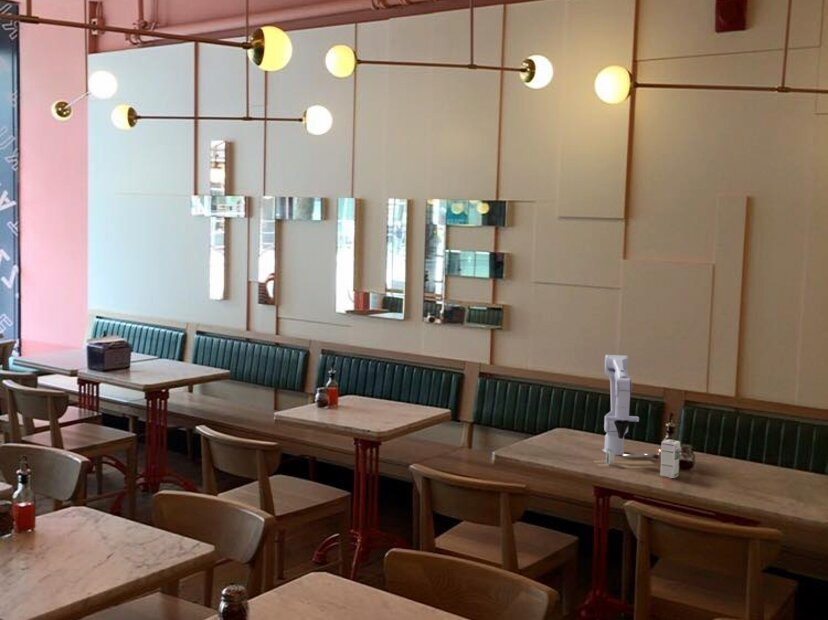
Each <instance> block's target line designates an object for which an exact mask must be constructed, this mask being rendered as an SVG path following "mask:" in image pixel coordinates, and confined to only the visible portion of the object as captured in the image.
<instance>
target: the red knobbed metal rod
mask: <svg viewBox="0 0 828 620" xmlns="http://www.w3.org/2000/svg"><path fill="white" fill-rule="evenodd" d="M621 457H622V459H643V460H650V459H655V460H656V462H657V464H661V448H658V449H656V451H655V453H643V454H626V455H621Z"/></svg>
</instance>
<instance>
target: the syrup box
mask: <svg viewBox="0 0 828 620" xmlns="http://www.w3.org/2000/svg"><path fill="white" fill-rule="evenodd" d="M660 449H661V463H660V467H659V470H660V473H659V475H660V476H661V477H665V478H666V477H668V478H667V479H671V478H674V479H675V478H677V477H679V476H680V460H681V459H680V456H681V455H680V454H681V441H680V440H675V439H666V440H663V441H661V447H660Z"/></svg>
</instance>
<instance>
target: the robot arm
mask: <svg viewBox="0 0 828 620" xmlns="http://www.w3.org/2000/svg"><path fill="white" fill-rule="evenodd" d="M628 367H629V356H628V355H627V354H626V355H620V354H619V355H618V354H617V355H615V354H606V355H605V356H604V374H605V375H606V376H607V377H609V378H608V379H609V383H610V384H609V385H610V387H609V389H610V390H609V391H610V411H609V412H608V413H606V414H605V415H604V420H603V421H604V424H603V427H604V432H605V433H606V434H605V435H604V444H603V445H604V446H603V447H604V448H603V449H601V451H602V452H603V453H606V449H611V450H613V451H614V456H622V455H627V453H625V452H624V442H625V435H626V434H627V433H629V426H630V422H636V423H637V422H638V423H639V421H640V417H639V416H635V415H630V404H631V403H630V401H631V392H632V391H633V390H632V389H633V381H632V378H631V377H629V373H628Z"/></svg>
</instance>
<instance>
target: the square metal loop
mask: <svg viewBox="0 0 828 620" xmlns="http://www.w3.org/2000/svg"><path fill="white" fill-rule="evenodd" d="M614 460H615V455H614V451H613V450H611V449H606V452H605V459H604V463H605V464H607V465H608V466H616V464H615V463H614Z"/></svg>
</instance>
